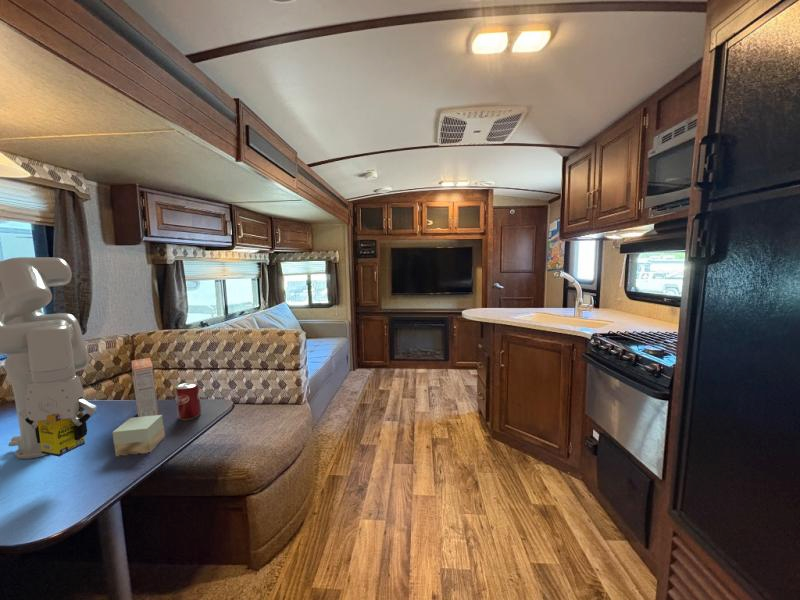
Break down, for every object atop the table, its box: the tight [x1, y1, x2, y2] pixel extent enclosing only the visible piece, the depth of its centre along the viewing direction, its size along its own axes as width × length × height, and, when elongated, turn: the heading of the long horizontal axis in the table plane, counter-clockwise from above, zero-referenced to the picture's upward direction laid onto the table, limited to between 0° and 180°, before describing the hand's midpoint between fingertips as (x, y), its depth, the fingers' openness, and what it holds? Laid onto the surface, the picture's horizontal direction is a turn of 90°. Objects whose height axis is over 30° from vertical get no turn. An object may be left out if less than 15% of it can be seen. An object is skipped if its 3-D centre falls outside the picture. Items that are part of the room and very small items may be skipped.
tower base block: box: [114, 425, 166, 457], centre depth 102 cm, size 9×9×4 cm
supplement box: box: [38, 406, 86, 458], centre depth 85 cm, size 6×6×11 cm
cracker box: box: [131, 357, 160, 417], centre depth 120 cm, size 14×6×21 cm, turn 41°
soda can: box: [174, 381, 202, 421], centre depth 121 cm, size 7×7×12 cm
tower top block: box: [112, 414, 164, 446], centre depth 102 cm, size 9×9×4 cm
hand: (62, 438), depth 85 cm, fingers closed on supplement box, 7 cm apart
